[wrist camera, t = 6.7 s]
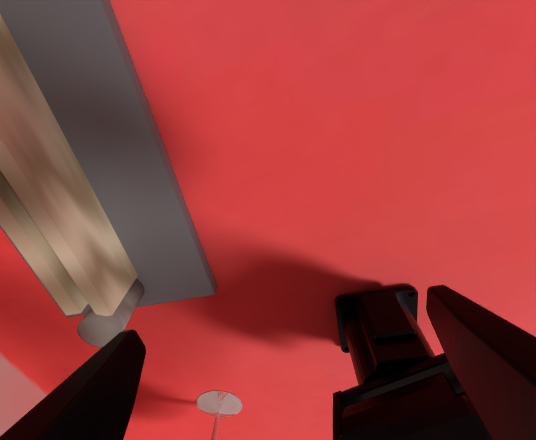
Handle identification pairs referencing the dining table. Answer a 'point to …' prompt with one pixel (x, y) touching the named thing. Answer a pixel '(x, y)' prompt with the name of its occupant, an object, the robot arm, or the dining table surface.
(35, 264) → the tongs arm
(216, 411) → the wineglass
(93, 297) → the arm
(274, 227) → the dining table surface
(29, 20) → the serving board
